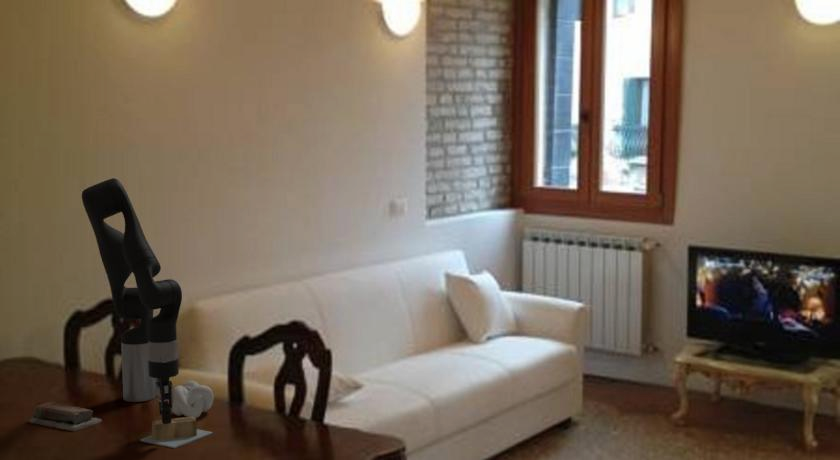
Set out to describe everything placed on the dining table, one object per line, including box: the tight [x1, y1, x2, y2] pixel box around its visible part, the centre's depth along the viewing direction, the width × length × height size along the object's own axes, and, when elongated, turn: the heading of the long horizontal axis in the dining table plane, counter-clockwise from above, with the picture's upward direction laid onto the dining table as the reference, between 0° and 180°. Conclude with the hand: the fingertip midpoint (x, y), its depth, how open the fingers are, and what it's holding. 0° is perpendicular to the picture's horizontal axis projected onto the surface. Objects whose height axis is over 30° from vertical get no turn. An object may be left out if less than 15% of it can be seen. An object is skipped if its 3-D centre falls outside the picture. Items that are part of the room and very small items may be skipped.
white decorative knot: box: [171, 380, 215, 419], centre depth 284 cm, size 11×12×9 cm
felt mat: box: [139, 428, 214, 449], centre depth 263 cm, size 14×12×1 cm
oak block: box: [151, 416, 198, 440], centre depth 263 cm, size 4×4×11 cm
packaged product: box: [28, 401, 103, 432], centre depth 277 cm, size 18×5×10 cm
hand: (165, 418), depth 262 cm, fingers open, 8 cm apart
